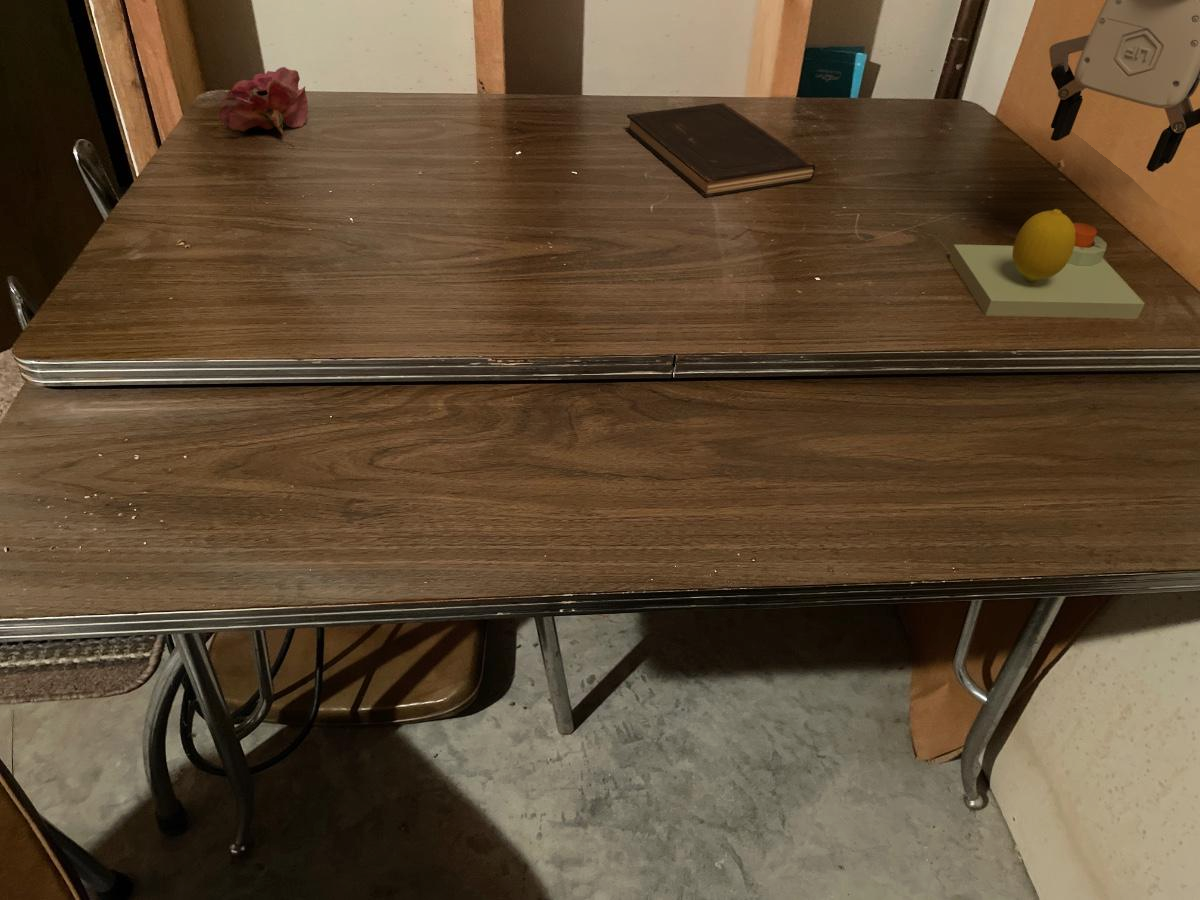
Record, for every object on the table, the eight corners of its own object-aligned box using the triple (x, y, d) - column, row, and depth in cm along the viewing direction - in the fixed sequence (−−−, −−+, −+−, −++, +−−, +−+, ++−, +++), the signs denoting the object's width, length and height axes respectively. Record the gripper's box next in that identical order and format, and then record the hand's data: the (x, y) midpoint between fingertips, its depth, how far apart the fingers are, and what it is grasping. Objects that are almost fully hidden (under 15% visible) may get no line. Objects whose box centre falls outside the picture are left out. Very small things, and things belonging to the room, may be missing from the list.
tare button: (1084, 237, 101) (1090, 222, 100) (1095, 249, 99) (1101, 234, 98) (1059, 236, 101) (1065, 222, 100) (1070, 248, 99) (1076, 234, 98)
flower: (234, 152, 126) (237, 77, 125) (309, 159, 127) (312, 85, 126) (209, 131, 114) (211, 48, 113) (291, 138, 115) (294, 57, 115)
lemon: (1066, 295, 94) (1096, 223, 88) (1012, 293, 94) (1039, 221, 88) (1046, 269, 98) (1074, 198, 93) (995, 267, 98) (1020, 196, 93)
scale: (1082, 257, 104) (1094, 228, 102) (1137, 319, 94) (1151, 289, 92) (944, 253, 104) (953, 225, 102) (985, 316, 94) (996, 286, 91)
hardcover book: (704, 197, 113) (707, 180, 111) (626, 130, 128) (626, 114, 127) (813, 180, 118) (816, 163, 116) (724, 118, 134) (726, 102, 132)
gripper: (1070, -50, 83) (1008, 135, 94) (1276, -9, 74) (1181, 191, 85) (1103, -60, 88) (1040, 118, 99) (1302, -21, 79) (1208, 170, 90)
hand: (1105, 152), depth 92 cm, fingers open, 9 cm apart
